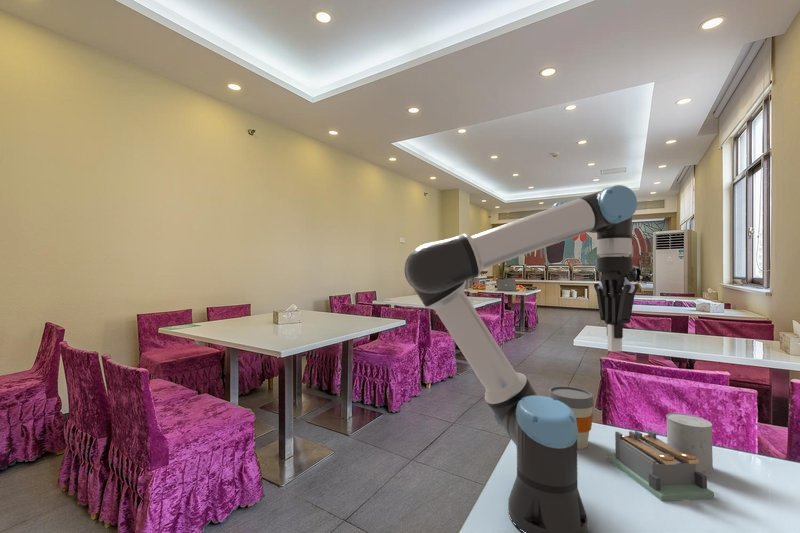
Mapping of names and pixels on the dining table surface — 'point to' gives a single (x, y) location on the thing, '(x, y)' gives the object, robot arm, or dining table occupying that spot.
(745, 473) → the dining table surface
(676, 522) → the dining table surface
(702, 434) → the gray concrete cylinder
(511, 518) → the robot arm
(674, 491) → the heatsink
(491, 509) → the dining table surface
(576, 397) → the reusable coffee cup
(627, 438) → the strap
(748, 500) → the dining table surface
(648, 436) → the strap
